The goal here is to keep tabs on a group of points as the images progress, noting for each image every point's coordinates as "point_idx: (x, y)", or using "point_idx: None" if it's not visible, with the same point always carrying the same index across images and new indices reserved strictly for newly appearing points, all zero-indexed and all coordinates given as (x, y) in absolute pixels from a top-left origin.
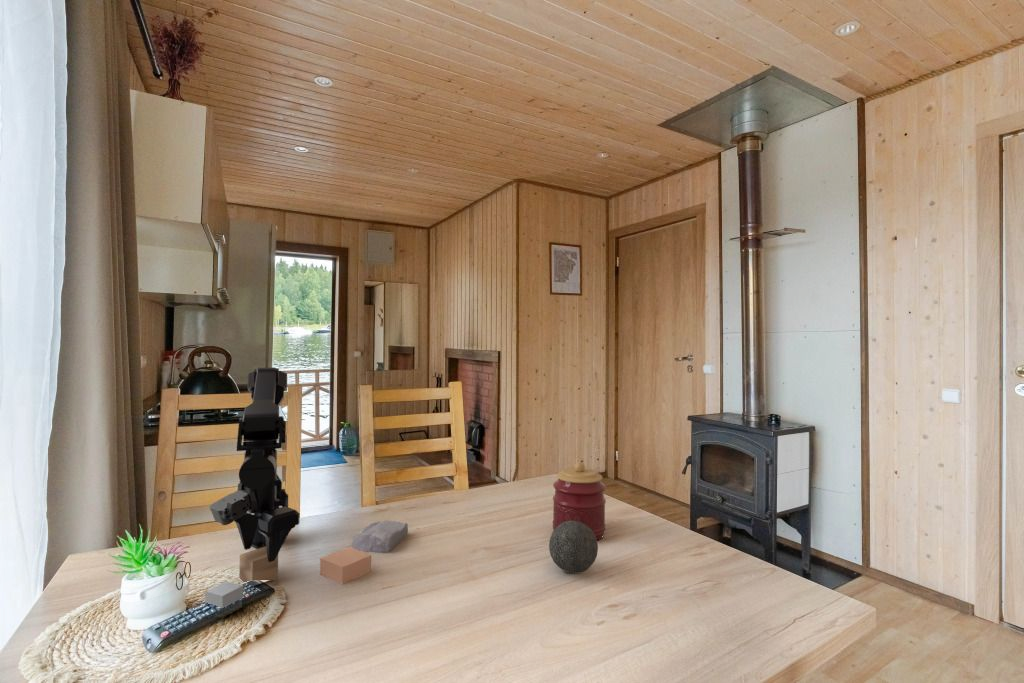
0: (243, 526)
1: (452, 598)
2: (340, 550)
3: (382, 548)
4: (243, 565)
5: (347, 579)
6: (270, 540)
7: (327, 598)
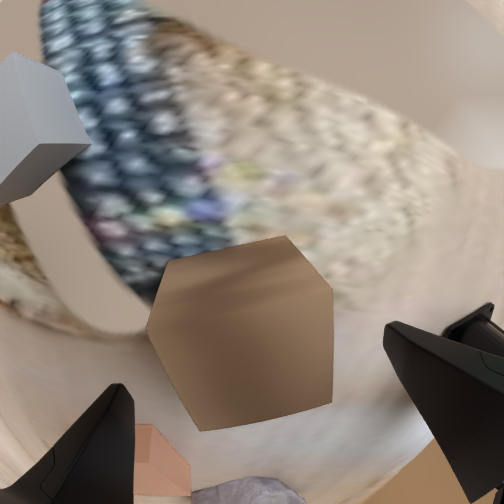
0: (484, 407)
1: (8, 448)
2: (178, 487)
3: (196, 498)
4: (263, 275)
5: None
6: (23, 481)
7: (19, 380)
